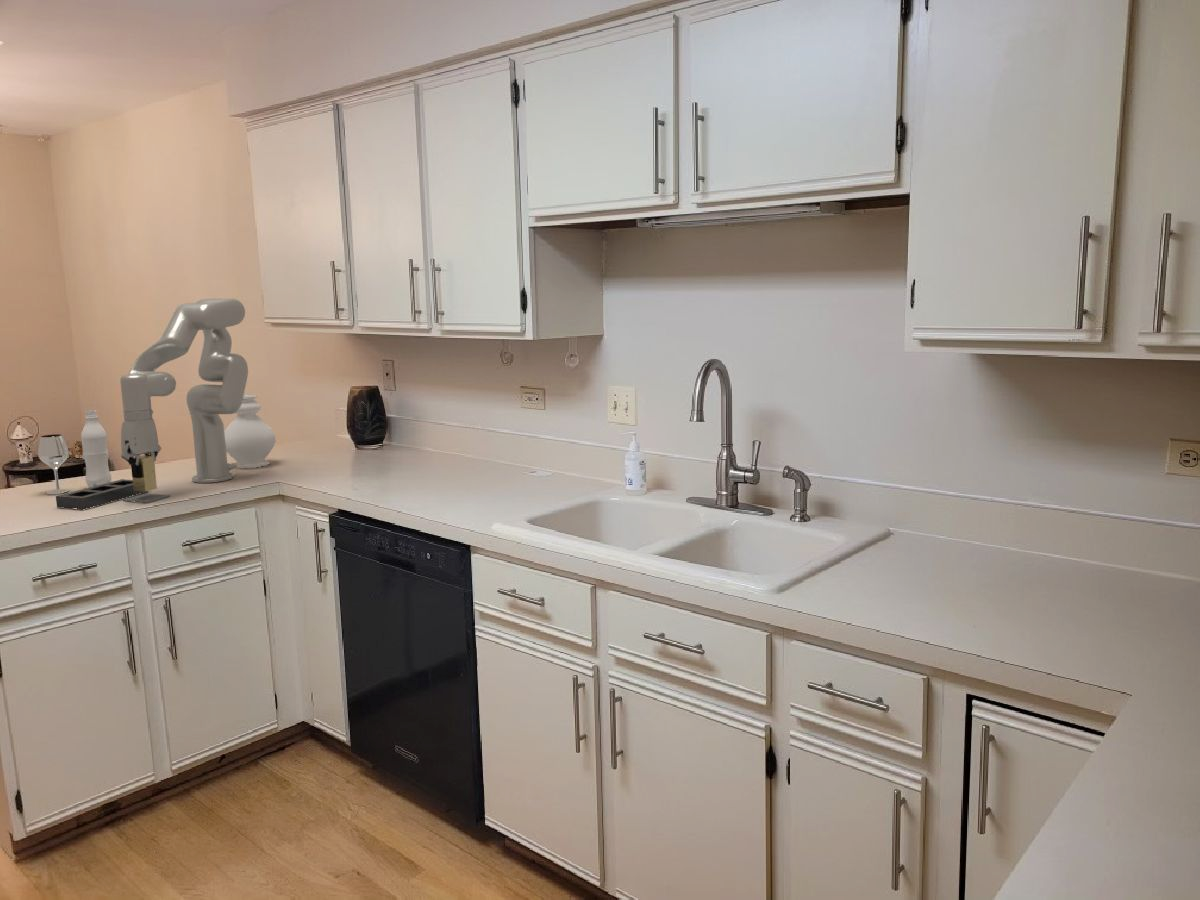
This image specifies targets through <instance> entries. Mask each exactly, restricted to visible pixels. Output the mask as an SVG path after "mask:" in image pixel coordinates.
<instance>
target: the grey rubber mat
mask: <svg viewBox="0 0 1200 900" xmlns="http://www.w3.org/2000/svg"><path fill="white" fill-rule="evenodd" d="M170 495H171V494H162V493H160V494H159V493H149V492H147V493H143V494H140V495H136V496H133V497H129V498H125V499H122V502H123V501H135V502H144V503H143V504H149V503H148V502H150V503H152V502H151V501H154V502H156V501H155V500H157V501H160V500H163V499H162V498H164V499H167V498H170V497H171V496H170ZM166 497H167V498H166ZM159 499H160V500H159ZM135 502H134V503H135Z"/></svg>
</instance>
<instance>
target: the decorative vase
mask: <svg viewBox="0 0 1200 900" xmlns="http://www.w3.org/2000/svg"><path fill="white" fill-rule="evenodd" d="M257 398H258V397H257V395H256V394H244V396H243V400H242V404H241V407H240V409H239V410H238V411H237V412H236V413H235V414H236V415H237V416H236V417H235V418H233V420H232V421H231V422H230V423H229V424H228V426H226V428H225V429H224V430H225V443H226V453H227V454H228V455H229V456H230V457H231V458H233V460H235V462H234V463H235V464H236V465H237V467H236V468H235V469H239V468H249V469H256V468H255V467H259V468H262V467H261V466H264V467H266V466H265V465H267V466H269V465H270V461H268V460H265V459H266V458H267V457H268V456H269V455H270V453H271V451H272V450H273V449H274V447H275V444H276V434H275V432H274V430H273V429H272V427H271V426H270V425H269V424H268V423H267V422H266V421H265V420H264V419H263V418H261V417H260V416H259V415H258V412H259V411H260V410H261V404H260V403H259V402H258V401H256V400H255V399H257ZM268 464H269V465H268Z"/></svg>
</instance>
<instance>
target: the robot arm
mask: <svg viewBox="0 0 1200 900" xmlns="http://www.w3.org/2000/svg"><path fill="white" fill-rule="evenodd" d="M245 316H246V309H245V306H244V304H243V303H242V302H241V301H240V300H238V299H235V298H204V299H199V300H197V301H196V302H187V303H181V304H180V305H179V306H177V307H176V308H175V311H174V312H173V314H172V315H171V318H170V320H169V322H168V324H167V326H166V328H165V330H164V331H163V333H162V335H161V337H160V339H159V340H158V341H156V342H155V343H153V344H152V345H151V346H149V347H148V348H146V350H144V351H143V352H142V353H141V354H140V355H139V356H138V357H137V358H136V359H135V361H134V362H133V363H132V366H131V368H130V370H129V372H128V374H124V375H122V376H121V377H120V381H119V382H120V392H121V393H120V394H121V400H122V410H123V421H121V428H120V447H121V455H120V457H121V459H123V460H125V461H126V462H127V463H128V465H129V466H130V470H131V477H133V478H142V471H141V465H139V460H140V456H141V455H143V456H154V462H156V461H157V457H158V455H159V453H160V452H161V450H162V447H161V446H160V444H159V439H158V432H157V427H156V423H155V420H154V418H153V414H154V411H153V410H152V409H153V408H152V400H151V398H152V397H168V396H170V395H171V394H172V393H174V392H175V390H176V387H177V381H176V379H175V377H174V376H173V375H172V374H170V373H168V372H167V371H166V372H165V371H156V370H157V369H158V368H160V367H161V366H163V365H166V363H169V362H170V361H174V360H176V359H178V358H181V357H182V356H184V355H186V354H187V353H188V352H189V350H190V348H191V346H192V345H193V344H192V343H193V342H194V339H195V338H196V336H197V335H198V332H199V331H202V333H203V337H204V338H203V345H202V350H201V355H200V359H199V363H198V364H199V365H198V375H199V377H200V379H202V380H203V381H205V382H209V383H210V382H211V383H222V384H197V385H194V386H192V387H190V389H189V390H188V392H187V394H186V404H187V408H188V412H189V415H190V419H191V425H192V434H193V437H192V438H193V445H194V446H193V447H194V457H195V458H194V459H195V467H196V469H195V470H196V474H195V475H193V476H192V477H191V480H192V482H193V483H199V484H201V483H202V484H207V483H208V484H209V483H220V481H221V482H226V481H229V479H230V480H232V479H233V478H234V473H232V472H231V471H232V470H235V469H237V468H236V467H237V465H236V464H235V463H236V462H233V463H229V462H228V457H227V454H228V453H227V451H226V443H225V430H226V429H225V425H224V422H223V419H222V418H221V416H220V415H233V414H236V412H237V411H238V410H239V409H240V407H241V404H242V400H243V396H244V395H245V390H246V386H247V380H248V375H249V366H248V362H247V360H246V359H245V357H243V356H242V355H241V354H238V353H231V352H232V351H231V350H232V345H233V343H232V342H233V340H232V336H231V334H230V332H229V331H228V329H227V328H230V327H233V326H237V325H239V324H241V323H242V322H243V321H244V319H245ZM134 457H135V459H134ZM133 478H132V479H133Z"/></svg>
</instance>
